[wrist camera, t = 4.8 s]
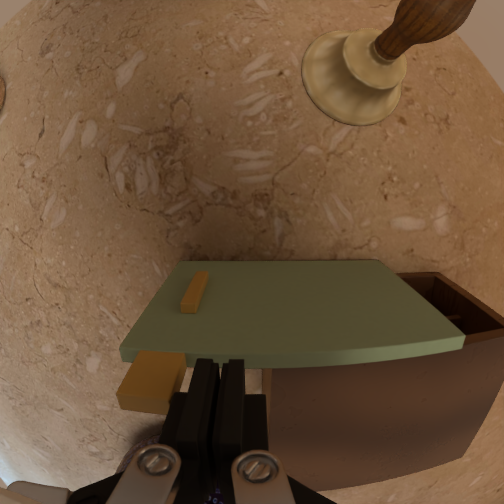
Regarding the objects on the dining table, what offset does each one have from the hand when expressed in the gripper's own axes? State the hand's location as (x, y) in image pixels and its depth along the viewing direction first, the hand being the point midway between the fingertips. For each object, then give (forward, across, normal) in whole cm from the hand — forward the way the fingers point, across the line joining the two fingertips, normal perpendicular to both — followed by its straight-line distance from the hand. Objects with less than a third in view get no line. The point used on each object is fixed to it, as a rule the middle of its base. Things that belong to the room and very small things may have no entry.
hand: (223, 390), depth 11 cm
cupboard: (+15, -10, +7) cm, 19 cm away
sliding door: (+14, -3, 0) cm, 15 cm away
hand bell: (+15, -9, -15) cm, 23 cm away
